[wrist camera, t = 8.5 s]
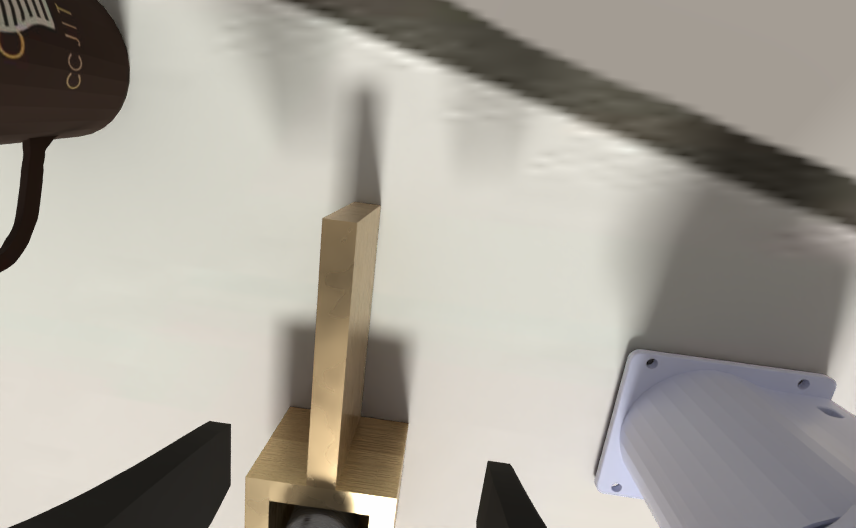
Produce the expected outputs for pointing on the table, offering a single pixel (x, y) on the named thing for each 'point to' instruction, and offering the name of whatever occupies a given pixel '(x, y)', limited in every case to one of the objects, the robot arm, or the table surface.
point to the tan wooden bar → (334, 400)
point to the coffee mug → (54, 89)
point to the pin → (321, 518)
